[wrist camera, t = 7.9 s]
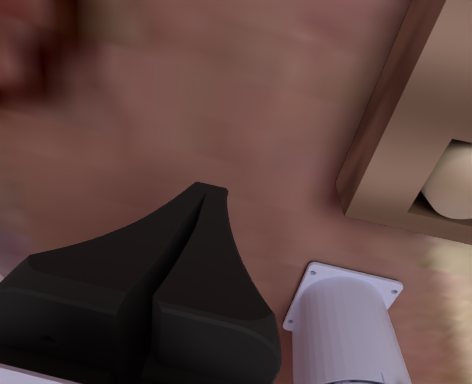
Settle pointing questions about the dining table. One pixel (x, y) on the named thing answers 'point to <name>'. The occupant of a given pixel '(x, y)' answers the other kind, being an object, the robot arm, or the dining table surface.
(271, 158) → the dining table surface
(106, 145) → the dining table surface
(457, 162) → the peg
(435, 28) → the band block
